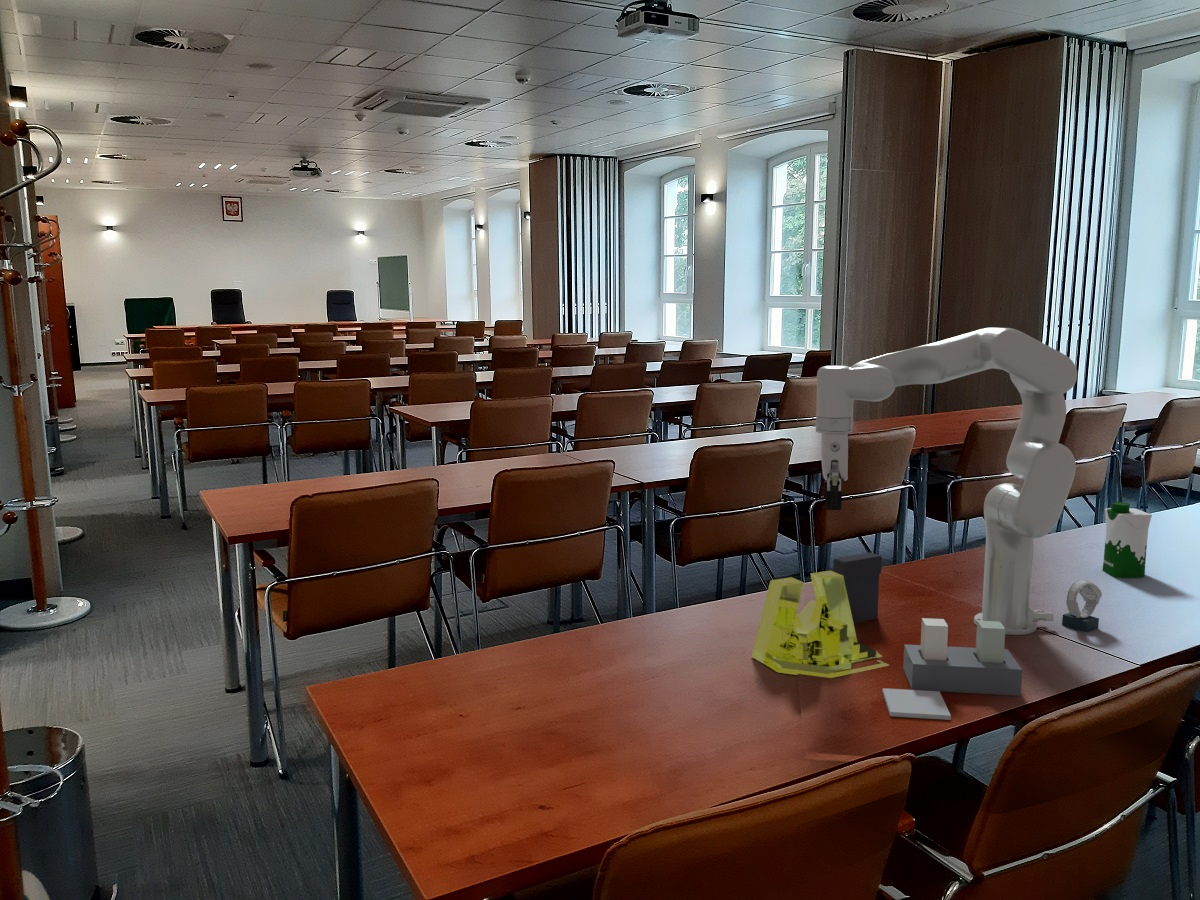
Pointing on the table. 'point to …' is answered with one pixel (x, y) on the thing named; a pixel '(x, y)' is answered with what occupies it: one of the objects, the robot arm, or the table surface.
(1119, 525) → the milk carton
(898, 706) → the mat
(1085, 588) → the watch
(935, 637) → the white plug
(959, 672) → the plate
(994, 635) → the sage plug
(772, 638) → the crystal
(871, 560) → the black block
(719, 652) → the table surface
